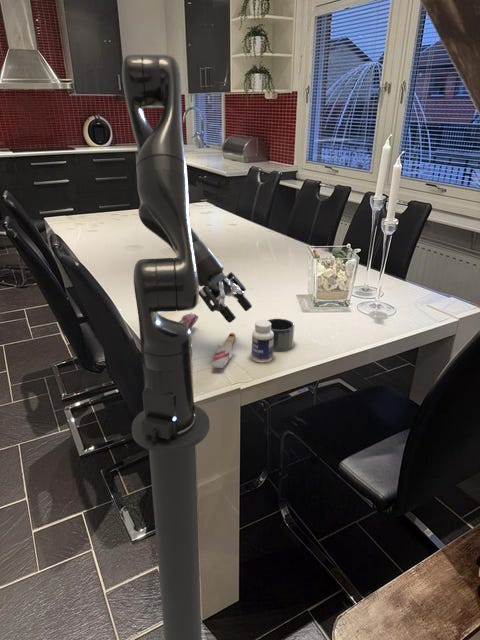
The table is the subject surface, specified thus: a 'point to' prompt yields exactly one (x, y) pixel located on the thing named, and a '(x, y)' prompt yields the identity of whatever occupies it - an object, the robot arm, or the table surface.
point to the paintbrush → (223, 352)
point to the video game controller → (189, 320)
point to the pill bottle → (262, 341)
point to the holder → (282, 334)
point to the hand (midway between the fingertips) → (241, 314)
